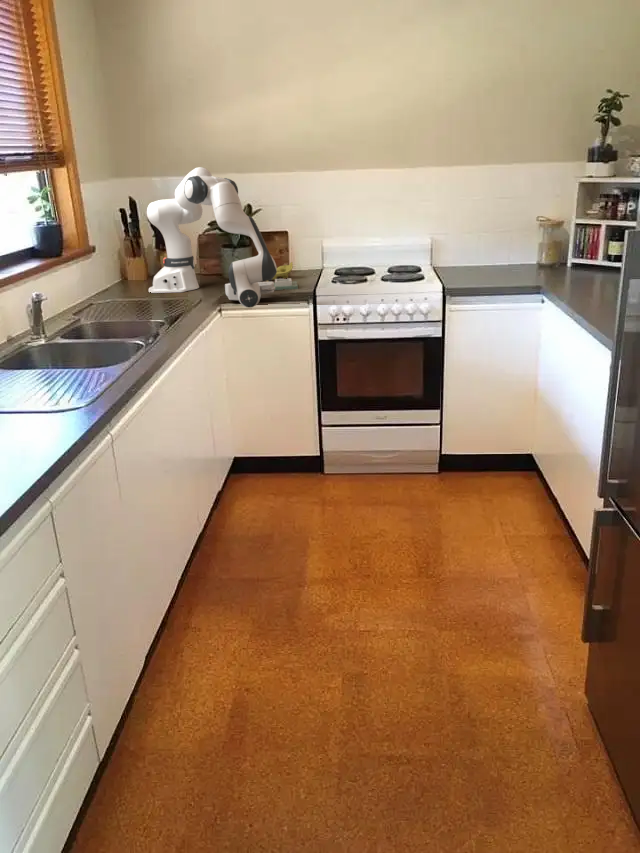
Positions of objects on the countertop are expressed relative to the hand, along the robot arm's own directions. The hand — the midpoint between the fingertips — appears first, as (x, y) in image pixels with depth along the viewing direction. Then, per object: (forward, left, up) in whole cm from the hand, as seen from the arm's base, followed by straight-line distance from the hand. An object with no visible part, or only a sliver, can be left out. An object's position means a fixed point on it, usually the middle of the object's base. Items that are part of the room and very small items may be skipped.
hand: (250, 284), depth 305 cm
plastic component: (+9, +41, -5) cm, 42 cm away
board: (+12, +17, -5) cm, 22 cm away
